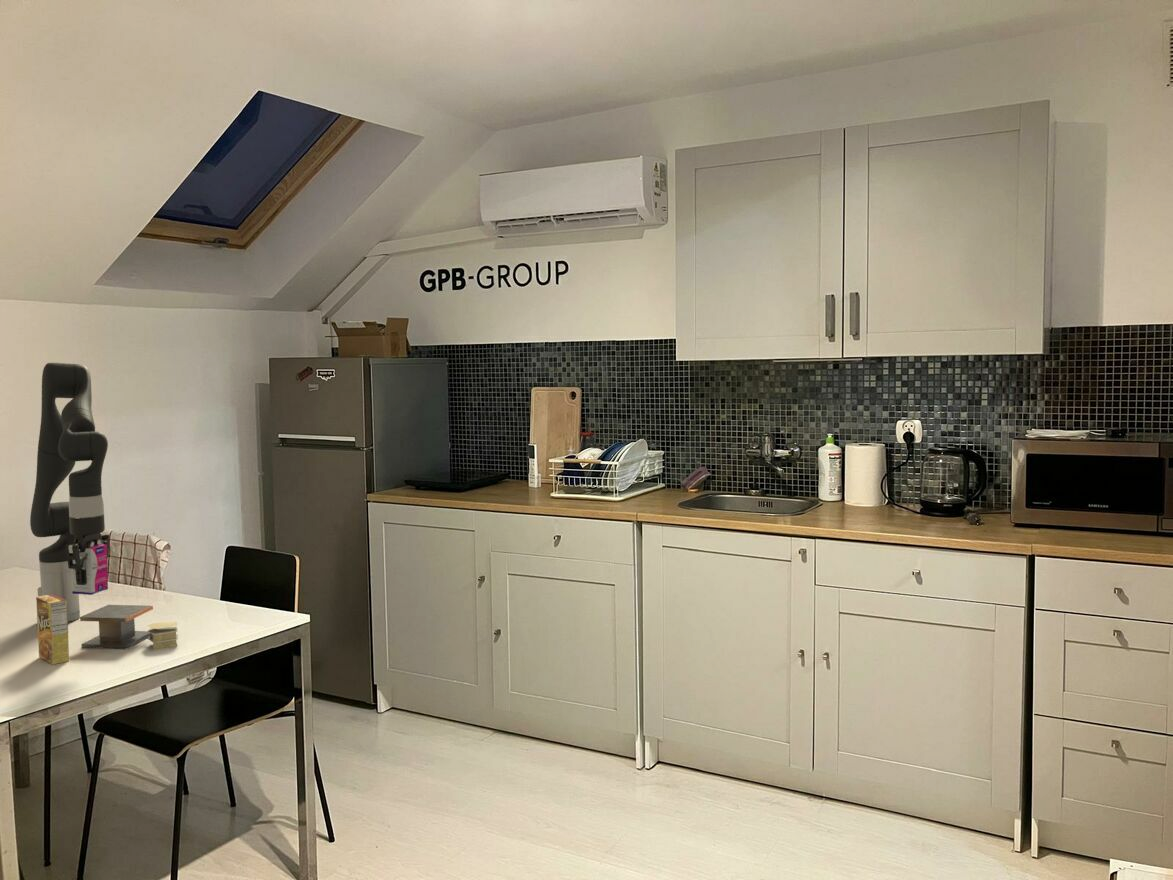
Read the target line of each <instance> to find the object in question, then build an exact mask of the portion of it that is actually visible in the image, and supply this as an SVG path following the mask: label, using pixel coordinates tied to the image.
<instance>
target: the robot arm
mask: <svg viewBox="0 0 1173 880" xmlns="http://www.w3.org/2000/svg"><path fill="white" fill-rule="evenodd" d="M89 370H90V369H89V368H88V367H87V366H86V365H84V364H79V363H67V362H65V363H62V362H47V363H46V364H45V365H44V367H43V369H42V377H41V408H40V409H41V413H40V414H41V415H40V425H39V426H40V427H39V435H38V443H37V456H36V457H37V458H36V476H35V477H36V479H35V485H34V487H35V488H34V491H33V492H34V493H33V499H32V504H31V509H30V518H29V524H30V530H31V533H32V534H33V536H34V537H36V538H49V537H56V536H59V538H58V539H57V540H56V541H55V542H53V543H52V544H51V545H49V546H47V547H45V548H42V549H41V550H39V553H38V560H39V575H40V580H39V581H40V587H38V588H37V597H39V596H45V595H52V594H53V595H55V596H57V597H60V598H62V599H65V600H67V618H68V623H69V622H73V621H76V620H78V619H80V617H81V613H80V611H81V610H80V594H72V569H74V570H75V571H76V583H77V585H85V584H87V577H86V569H85V568H86V561H87V560H88V554H87V553H86V555H85V556H80V555H79V553H82V552H85V549H86V548H92V547H94V546H95V545H101V544H104V545H107V560H108V559H109V558H110V557H109V556H110V535H109V534H101V533H104V531H105V530H106V525H105V507H104V499H103V493H102V491H103V488H102V487H103V486H102V475H103V474H102V473H103V467H104V462H105V459H106V455H107V452H108V447H109V441H108V438H107V437H106V435H105V434H104V433H103V432H101V431H96V424H95V422H94V417H93V412H92V379H91V377H92V376H91V373H90V371H89ZM57 399H71V400H70V401H68V402H67V403H66V404H65V405H64V407H63V408H62V411H61V413H60V411H59V409H58V406H57V404H56V400H57ZM89 461H91V463H90V465H89V466H88V467H86V468H83V469H79V470H77V471H73V469H74V467H75V465H76V462H89ZM72 471H73V472H72ZM67 477H68V490H69V492H68V493H69V494H68V495H69V497H68V498H69V501H59V502H52V498H53V496H54V494H55V492H56V490H57V489H58V488H59V487H60V485H61V484H62V483H63V482H64V481H65V480H66V478H67ZM73 560H75V562H74V564H73ZM80 560H82V565H81V562H80Z"/></svg>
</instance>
